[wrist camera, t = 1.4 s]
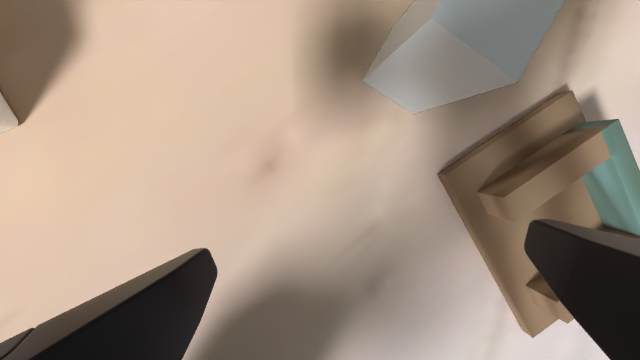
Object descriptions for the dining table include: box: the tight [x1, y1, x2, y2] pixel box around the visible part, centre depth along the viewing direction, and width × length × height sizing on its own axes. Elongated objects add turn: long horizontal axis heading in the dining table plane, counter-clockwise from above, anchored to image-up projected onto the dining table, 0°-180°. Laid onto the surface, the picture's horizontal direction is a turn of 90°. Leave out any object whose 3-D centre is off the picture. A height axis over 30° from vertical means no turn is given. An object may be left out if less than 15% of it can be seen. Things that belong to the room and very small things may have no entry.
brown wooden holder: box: [438, 91, 640, 338], centre depth 20 cm, size 12×16×4 cm
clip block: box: [362, 0, 565, 114], centre depth 15 cm, size 4×4×9 cm
